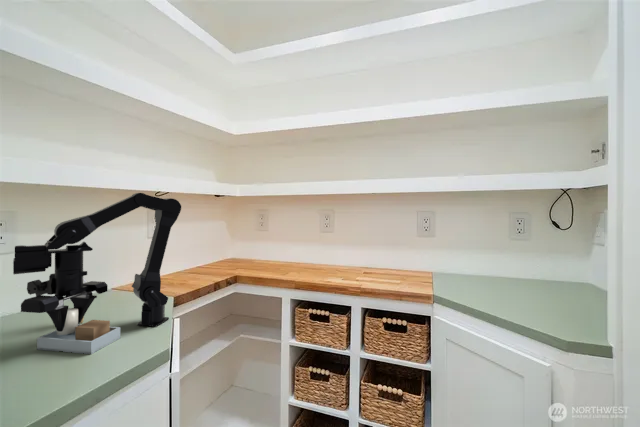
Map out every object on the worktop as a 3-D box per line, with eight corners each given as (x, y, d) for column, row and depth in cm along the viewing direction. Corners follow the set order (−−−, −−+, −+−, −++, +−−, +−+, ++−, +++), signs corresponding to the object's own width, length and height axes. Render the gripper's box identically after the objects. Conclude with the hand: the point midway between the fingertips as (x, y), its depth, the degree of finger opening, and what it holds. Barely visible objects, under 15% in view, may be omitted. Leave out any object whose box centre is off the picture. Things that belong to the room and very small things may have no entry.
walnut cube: (92, 338, 79) (92, 319, 79) (109, 339, 79) (109, 320, 79) (75, 346, 74) (75, 327, 74) (93, 348, 74) (93, 328, 74)
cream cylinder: (66, 327, 80) (66, 307, 80) (82, 328, 80) (82, 308, 79) (51, 334, 75) (51, 313, 75) (68, 335, 75) (68, 314, 75)
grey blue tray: (71, 334, 82) (71, 323, 82) (120, 338, 81) (120, 327, 81) (37, 349, 73) (37, 337, 73) (91, 354, 72) (91, 342, 72)
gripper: (75, 261, 87) (74, 313, 88) (0, 275, 69) (0, 341, 69) (109, 262, 86) (108, 315, 86) (42, 277, 67) (42, 344, 68)
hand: (68, 327), depth 77 cm, fingers closed on cream cylinder, 4 cm apart
